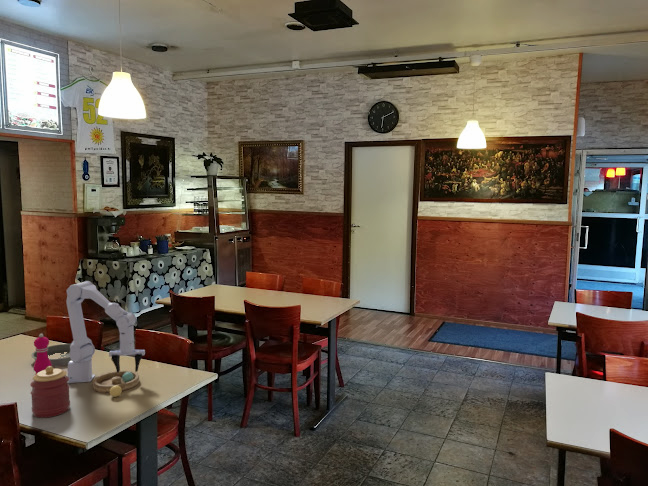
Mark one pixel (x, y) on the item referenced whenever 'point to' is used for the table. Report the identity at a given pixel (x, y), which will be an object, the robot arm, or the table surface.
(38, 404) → the canister
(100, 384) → the groove tray
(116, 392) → the bead ochre
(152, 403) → the table surface
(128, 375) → the bead teal
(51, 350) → the cake pan
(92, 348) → the robot arm
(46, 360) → the pepper mill
